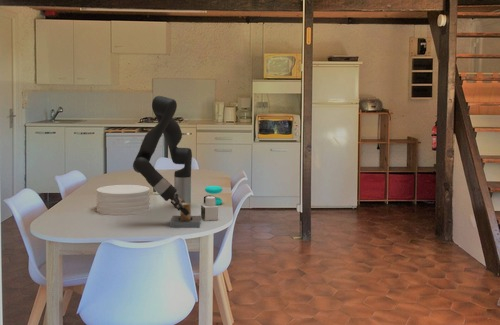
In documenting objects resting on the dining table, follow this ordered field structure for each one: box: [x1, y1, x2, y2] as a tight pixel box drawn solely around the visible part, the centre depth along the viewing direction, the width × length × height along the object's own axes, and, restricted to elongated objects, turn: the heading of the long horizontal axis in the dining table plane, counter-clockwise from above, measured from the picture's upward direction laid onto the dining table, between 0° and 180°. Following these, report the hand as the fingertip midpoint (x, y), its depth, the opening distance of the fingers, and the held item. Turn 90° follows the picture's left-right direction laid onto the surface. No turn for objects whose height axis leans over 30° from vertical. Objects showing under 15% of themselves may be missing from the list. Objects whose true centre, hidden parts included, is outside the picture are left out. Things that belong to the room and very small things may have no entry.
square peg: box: [179, 203, 192, 220], centre depth 273 cm, size 5×5×10 cm
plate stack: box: [96, 184, 151, 216], centre depth 303 cm, size 28×28×12 cm
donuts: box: [204, 185, 223, 206], centre depth 323 cm, size 10×10×10 cm
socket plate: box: [169, 215, 202, 228], centre depth 273 cm, size 14×14×2 cm
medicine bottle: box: [200, 194, 219, 222], centre depth 284 cm, size 7×7×12 cm
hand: (188, 212), depth 273 cm, fingers open, 8 cm apart
